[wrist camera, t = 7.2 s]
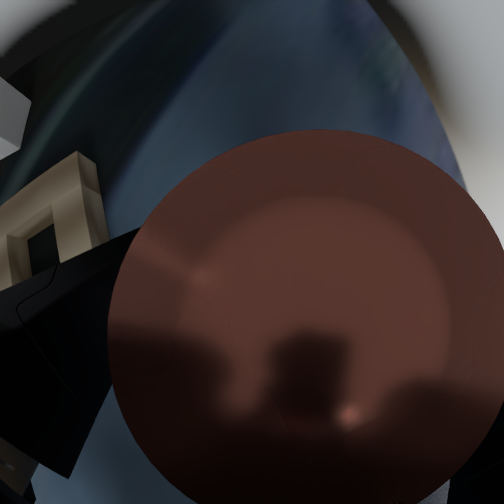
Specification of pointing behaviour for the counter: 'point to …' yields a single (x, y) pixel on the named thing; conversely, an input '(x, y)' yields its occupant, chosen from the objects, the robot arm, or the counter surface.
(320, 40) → the counter surface
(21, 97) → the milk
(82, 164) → the socket block
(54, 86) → the counter surface
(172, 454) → the silver and brown cylinder
